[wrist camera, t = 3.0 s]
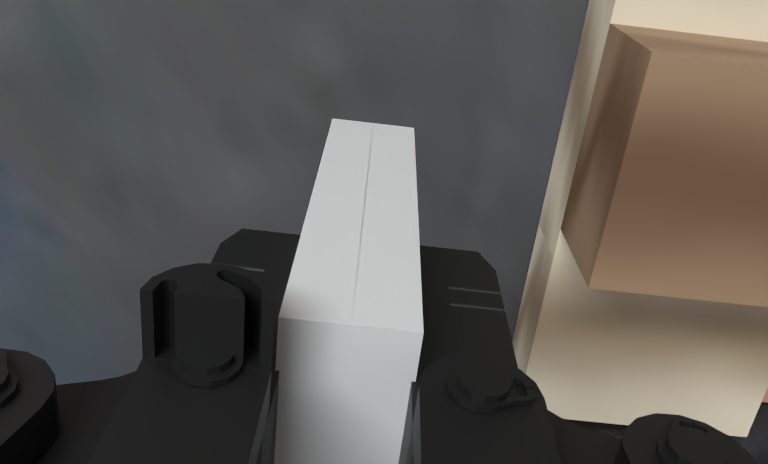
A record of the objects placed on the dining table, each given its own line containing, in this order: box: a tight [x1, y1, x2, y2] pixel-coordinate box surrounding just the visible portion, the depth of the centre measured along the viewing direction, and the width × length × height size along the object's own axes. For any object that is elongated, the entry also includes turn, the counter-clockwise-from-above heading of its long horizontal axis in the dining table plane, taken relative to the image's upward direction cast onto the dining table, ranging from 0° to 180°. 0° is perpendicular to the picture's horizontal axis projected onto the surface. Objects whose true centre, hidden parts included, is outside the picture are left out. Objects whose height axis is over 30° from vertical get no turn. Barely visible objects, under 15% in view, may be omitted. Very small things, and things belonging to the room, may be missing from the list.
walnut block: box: [561, 23, 768, 307], centre depth 19 cm, size 6×8×4 cm
